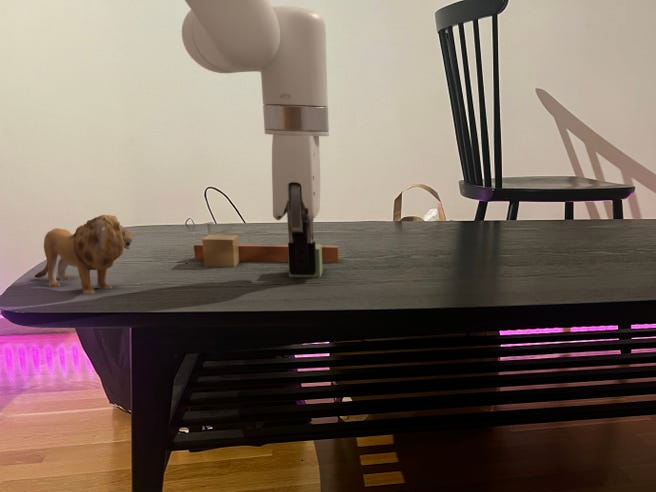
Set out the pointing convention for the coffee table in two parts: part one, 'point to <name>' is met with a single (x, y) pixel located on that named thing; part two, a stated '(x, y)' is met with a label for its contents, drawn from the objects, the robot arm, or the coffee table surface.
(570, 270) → the coffee table surface
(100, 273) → the lion figurine
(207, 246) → the maple block
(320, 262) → the sage block
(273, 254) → the rail
